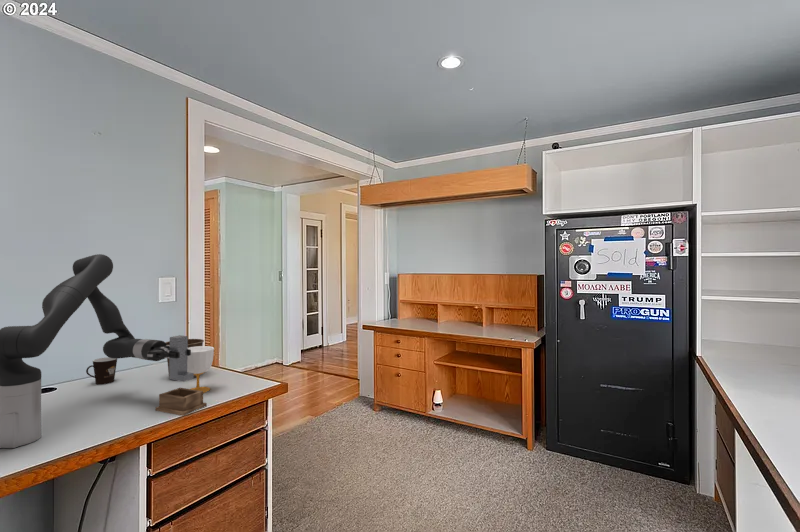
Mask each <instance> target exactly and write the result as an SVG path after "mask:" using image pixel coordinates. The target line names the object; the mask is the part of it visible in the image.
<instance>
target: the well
mask: <svg viewBox="0 0 800 532" xmlns="http://www.w3.org/2000/svg"><path fill="white" fill-rule="evenodd" d="M158 401H159V402H158V406H156V407H155V412H162V413H167V414H172V415H178V416H185V415H188V414H190V413H192V411H193V412H194V410H195V411H197V410H196V409H198V410H200V409H203V408H205V407H207V405H208V404H207V402H204V393H203V391H199V390H192V389H191V388H183V387H178V388H174V389H172V390H168V391H165V392H162V393H159V394H158ZM204 406H205V407H204ZM202 407H203V408H202ZM199 408H200V409H199Z"/></svg>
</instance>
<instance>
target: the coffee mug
mask: <svg viewBox="0 0 800 532" xmlns="http://www.w3.org/2000/svg"><path fill="white" fill-rule="evenodd" d="M117 363H118V359H114V358H110V357H108V356H106V357H100V358H96V359H93V360H92V365H89V366H88V367H87V368H86V370H85V372H86V375H87V376H89V377H91V378H94V380H95V381H94V382H95V385H99V386H101V385H108V384H112V383H114V382H115V377H116V369H117ZM92 367H93V374H94V375H93V374H90V373H89V369H90V368H92Z"/></svg>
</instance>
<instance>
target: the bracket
mask: <svg viewBox="0 0 800 532" xmlns="http://www.w3.org/2000/svg"><path fill="white" fill-rule="evenodd" d="M188 339H189V338H188V335H180V334H179V335H175V336H174V335H172V336H169V341H170V351H175V352H179V353H180V358H177V359H176V358H169V372H168V379H169V380H173V381H179V382H187V381H190V380H192V379H194V377H193V376H194V373H191V372H187V350H188Z"/></svg>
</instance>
